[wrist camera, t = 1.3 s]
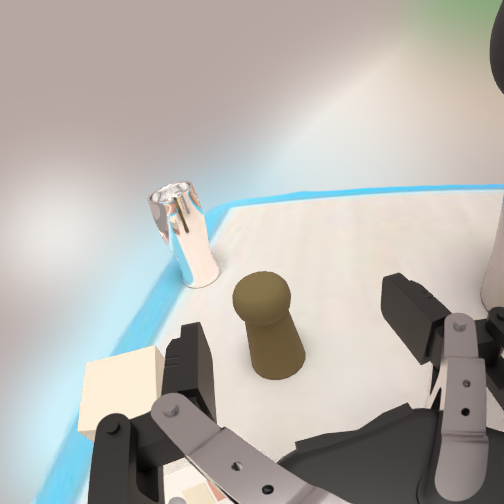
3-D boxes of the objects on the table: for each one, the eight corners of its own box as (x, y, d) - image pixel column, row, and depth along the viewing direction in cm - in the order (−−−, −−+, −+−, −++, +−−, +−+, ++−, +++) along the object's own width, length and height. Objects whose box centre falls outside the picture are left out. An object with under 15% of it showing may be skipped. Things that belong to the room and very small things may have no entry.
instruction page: (240, 441, 24) (239, 440, 24) (279, 497, 18) (278, 497, 18) (152, 481, 21) (150, 480, 21) (179, 540, 15) (177, 540, 15)
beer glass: (208, 293, 44) (172, 202, 35) (173, 286, 47) (136, 203, 39) (230, 264, 48) (203, 178, 40) (196, 260, 52) (167, 181, 44)
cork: (244, 375, 30) (212, 305, 24) (260, 334, 35) (237, 261, 29) (298, 383, 28) (283, 311, 22) (310, 338, 33) (298, 262, 27)
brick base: (177, 376, 32) (155, 344, 29) (185, 443, 24) (158, 420, 21) (113, 390, 31) (86, 362, 28) (111, 454, 24) (77, 431, 20)
